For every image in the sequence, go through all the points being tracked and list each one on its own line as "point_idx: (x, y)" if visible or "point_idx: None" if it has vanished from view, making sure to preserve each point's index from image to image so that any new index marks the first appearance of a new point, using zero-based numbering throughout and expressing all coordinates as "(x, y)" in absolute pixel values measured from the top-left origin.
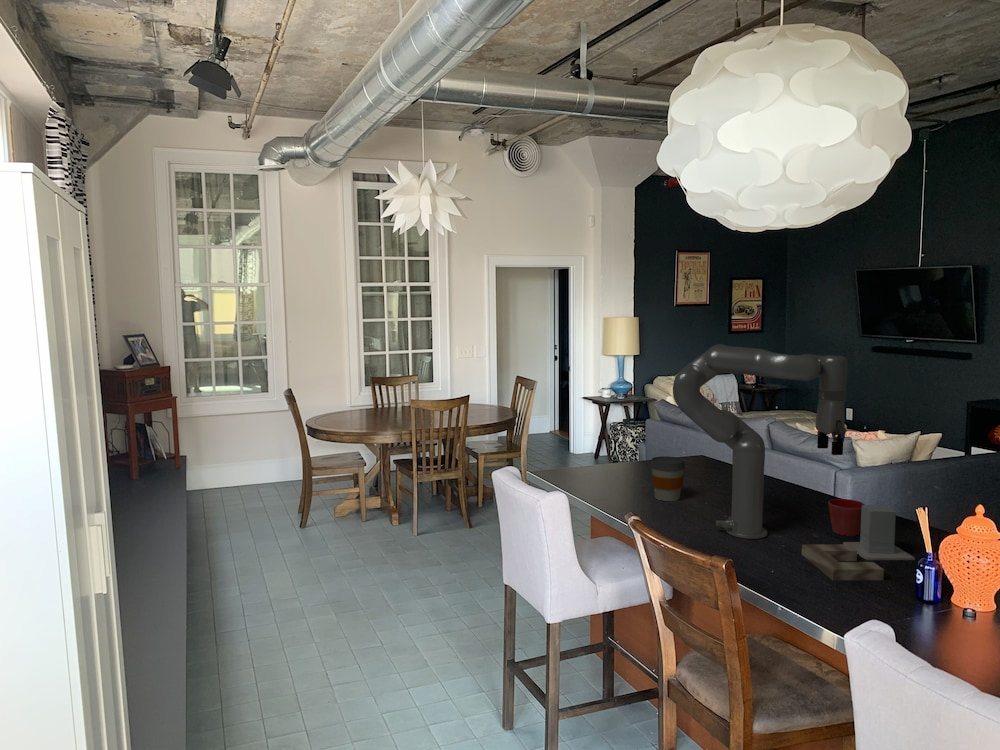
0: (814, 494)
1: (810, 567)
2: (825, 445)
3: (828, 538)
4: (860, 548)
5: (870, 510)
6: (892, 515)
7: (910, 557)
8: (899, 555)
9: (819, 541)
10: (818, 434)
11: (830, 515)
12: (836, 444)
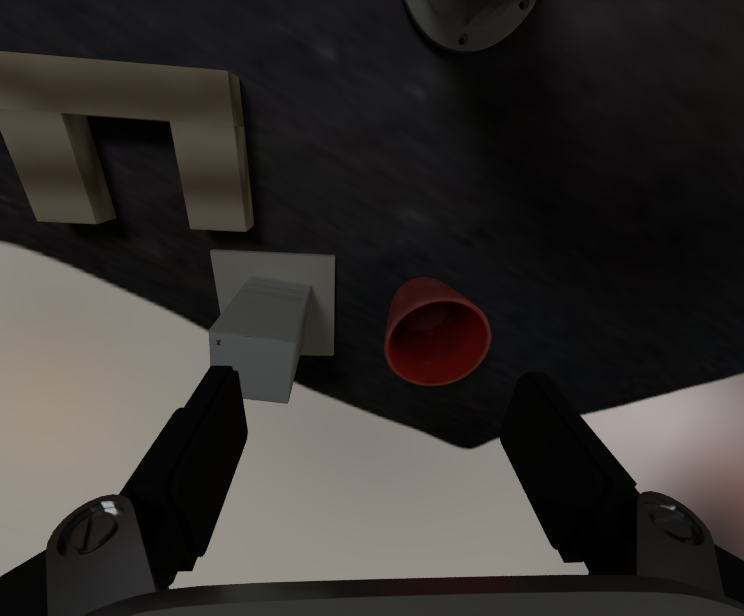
0: (708, 372)
1: (115, 42)
2: (514, 440)
3: (382, 239)
4: (285, 273)
5: (218, 335)
6: None
7: None
8: None
9: (359, 201)
10: (656, 507)
11: (444, 287)
12: (127, 482)
